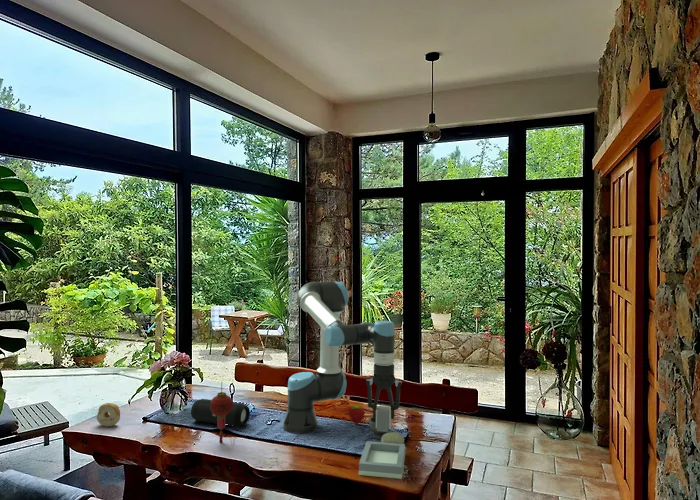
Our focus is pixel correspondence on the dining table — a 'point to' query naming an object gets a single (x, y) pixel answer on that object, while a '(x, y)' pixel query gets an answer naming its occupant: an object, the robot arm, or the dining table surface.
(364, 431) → the dining table surface
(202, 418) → the portable speaker
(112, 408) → the stone disc
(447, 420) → the dining table surface
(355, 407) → the decorative fruit
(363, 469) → the grey rectangular tray
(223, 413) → the lantern
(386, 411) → the grey upright block
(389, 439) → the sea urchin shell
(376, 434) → the mortar and pestle
